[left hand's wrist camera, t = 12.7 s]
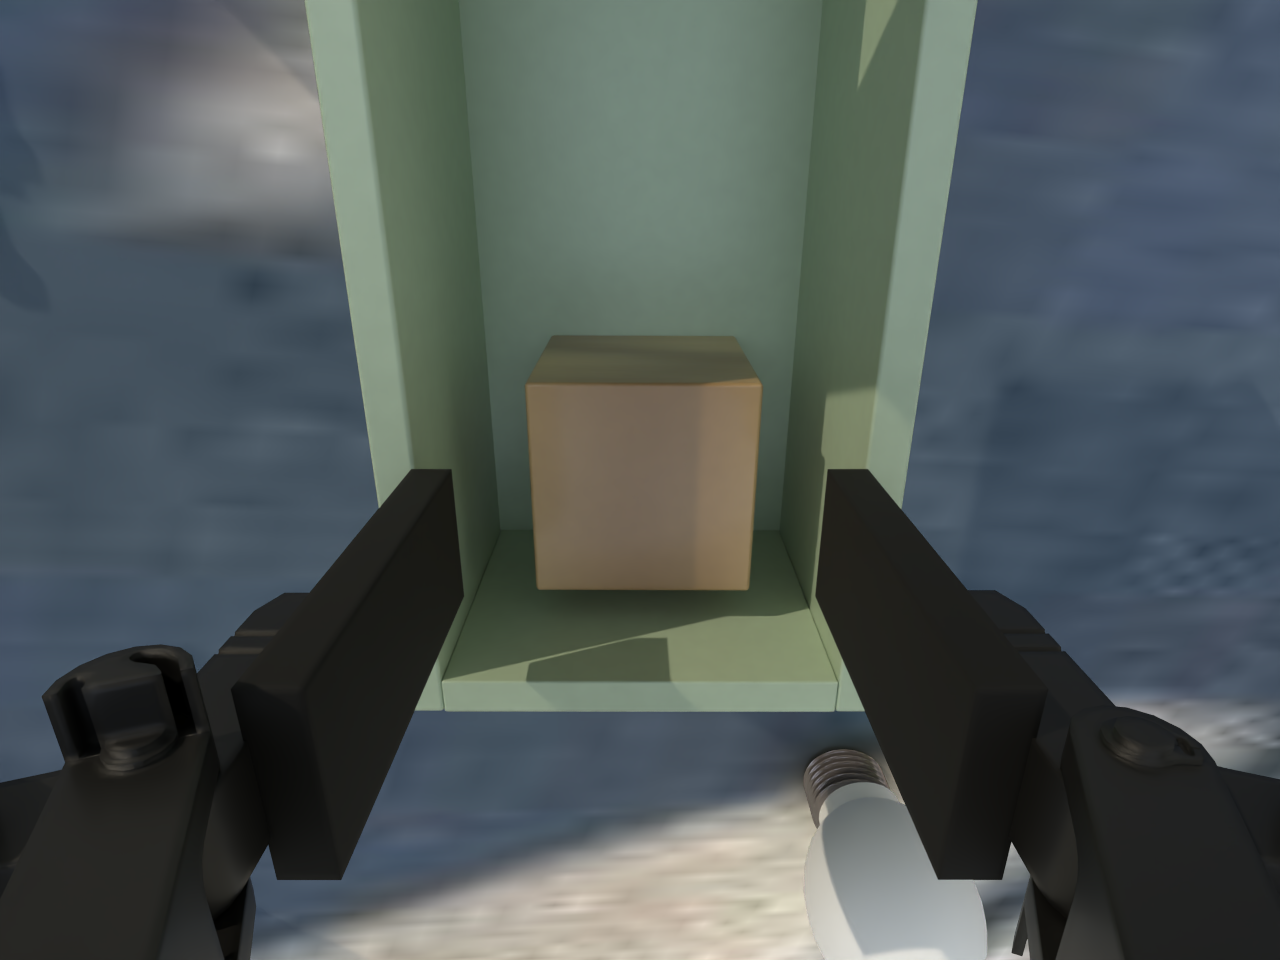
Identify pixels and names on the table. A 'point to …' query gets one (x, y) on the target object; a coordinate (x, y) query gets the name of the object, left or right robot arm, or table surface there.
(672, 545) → the block
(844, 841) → the light bulb
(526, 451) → the box
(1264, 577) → the table surface
